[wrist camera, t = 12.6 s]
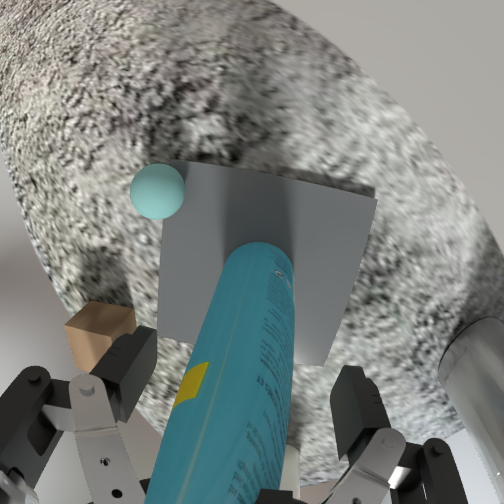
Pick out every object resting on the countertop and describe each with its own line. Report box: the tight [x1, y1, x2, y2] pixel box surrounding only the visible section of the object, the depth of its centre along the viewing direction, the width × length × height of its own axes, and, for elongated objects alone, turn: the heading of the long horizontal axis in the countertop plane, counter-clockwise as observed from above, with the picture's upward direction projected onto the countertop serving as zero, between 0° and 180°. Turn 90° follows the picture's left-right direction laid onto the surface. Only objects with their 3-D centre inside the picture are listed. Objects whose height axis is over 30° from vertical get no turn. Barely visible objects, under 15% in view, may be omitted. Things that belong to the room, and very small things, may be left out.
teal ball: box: [130, 163, 185, 220], centre depth 17 cm, size 4×4×4 cm
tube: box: [144, 242, 295, 504], centre depth 11 cm, size 7×5×19 cm, turn 17°
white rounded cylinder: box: [279, 443, 300, 500], centre depth 25 cm, size 7×7×8 cm
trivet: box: [157, 159, 378, 367], centre depth 21 cm, size 14×14×1 cm
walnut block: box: [64, 300, 137, 372], centre depth 22 cm, size 4×4×4 cm
